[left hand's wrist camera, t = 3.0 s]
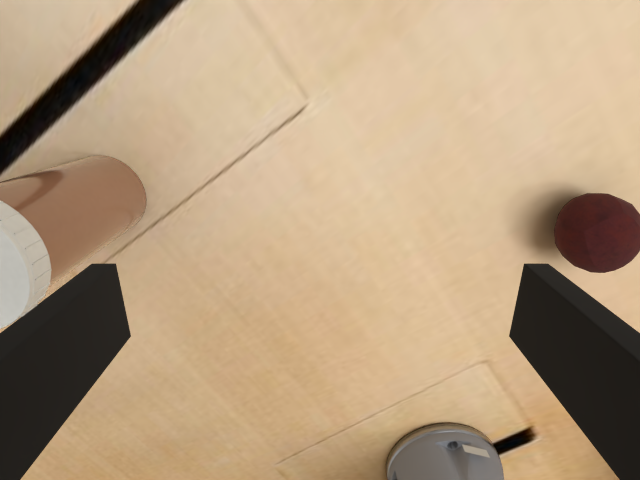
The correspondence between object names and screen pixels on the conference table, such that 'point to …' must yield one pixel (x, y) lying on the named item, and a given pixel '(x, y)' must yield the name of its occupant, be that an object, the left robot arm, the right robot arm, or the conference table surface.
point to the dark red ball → (598, 232)
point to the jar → (77, 207)
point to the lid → (20, 266)
